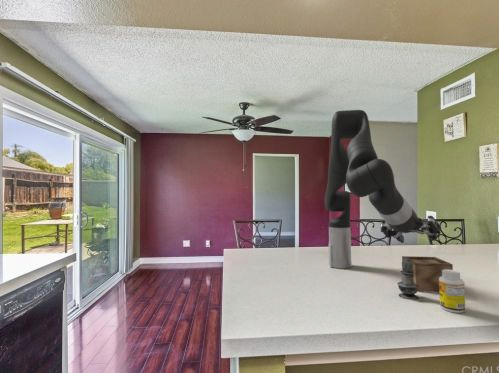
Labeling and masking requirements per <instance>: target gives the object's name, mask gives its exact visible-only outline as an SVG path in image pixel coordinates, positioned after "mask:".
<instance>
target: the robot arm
mask: <svg viewBox="0 0 499 373" xmlns="http://www.w3.org/2000/svg"><path fill="white" fill-rule="evenodd" d="M369 121H370V120H369V117H368V114H367V113H366V111H365V110H362V109H349V110H338V111H335V112H334V113H333V116H332V119H331V136H330V138H331V139H330V140H331V141H330V154H329V161H328V170H327V186H326V191H325V194H324V195H325V196H324V207H325V209H326V211H328V212H332V213H333V212H335V213H336V212H341V214H340V215H339V216H338V217H335V218H332V219H330V220H329V221H328V265H329V267H330V268H336V269H350V268H352V262H353V261H352V239H351V238H352V236H351V203H352V202H351V199H352V198H351V194H352V195H353V196H355V197H358V198H365V197H368V201H369V202H370V203H371V205H372V206H373V208H374V209H376V211H377V212H378V214H379V215H380V217H381V219H383V220H384V221H381V222H380V231H381V232H382V233H383V235H384V236H385V237H386V238H388V239H390V238H394V239H396V240H397V241H398V242H399V243H401V244H404V243H405V237H404V235H403V234H410V233H417V234H420V235H428V236H429V238H430V239H431V240H432V241H433V242H435V241H436V240H437V239H438V235H440V234H441V225H440V223H439V222H438V221H437V220H436V219H435V217H434V216H433V215H428V216H427V218H423V219H422V218H420V217H419V216H418V215H417V213H416V212H415V210H414V209H413V208H412V206H411V205H410V203H409V201H407V199H406V198H404V197H403V195H402V194H401V193H400V192H399V190H398V188H397V187H396V182H395V177H394V176H395V174H394V171H393V168H392V167H391V165H390V164H389V162H388V161H387V160H385V159H382V158H378V155H377V153H376V150H375V148H374V146H373V143H372V142H373V141H372V135H371V127H370V122H369ZM346 139H351V140H350V142H349V143H348V145H347V147H345V145H344V144H343V142H342V140H346ZM346 148H347V149H346ZM345 185H346V186H347V188H348V190H349V191H348V190H340V189H341V188H342V187H344V186H345ZM350 193H351V194H350Z"/></svg>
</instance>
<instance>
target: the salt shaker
mask: <svg viewBox="0 0 499 373" xmlns="http://www.w3.org/2000/svg"><path fill="white" fill-rule="evenodd" d="M400 273H401V281H399V282H397V283H396V286H398V289H399V291H400V293H399V294H398V297H399V298H401V297H402V298H401V299H406V300H410V301H412V300H413V301H414V300H415V301H416V300H419V296H418V295H417V294H416V293H417V292H419V291H418V288H419V285H417V284H415V283H414V279H413V274H414V272H413V263H412V262H411V261H410V260H408V257H406V260H403V261H402V260H401V270H400Z"/></svg>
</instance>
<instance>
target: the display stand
mask: <svg viewBox="0 0 499 373" xmlns="http://www.w3.org/2000/svg"><path fill="white" fill-rule="evenodd" d="M406 257H408V260H410V261H411V262H412V263H413V272H414V274H413V279H414V283H415V284H417V285H419V288H418V291H417V292H436V293H440V292H439V278H440V277H441V276H442V270H445V269H447V270H454V267H453V266H454V265H453V264H454V263H451V262H448V261H445V260H443V259H441V258H438V257H436V256H415V255H414V256H411V255H410V256H409V255H406V256H404V255H403V256H401V262H402V261H403V260H406Z"/></svg>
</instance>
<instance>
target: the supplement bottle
mask: <svg viewBox="0 0 499 373" xmlns="http://www.w3.org/2000/svg"><path fill="white" fill-rule="evenodd" d="M438 293H439V305H440V307H441V309H443V310H444V311H446V312H450V313H456V314H462V313H465V312H466V297H465V296H466V294H465V293H466V292H465V281H464V279H462V278H461V272H460V271H458V270H456V269H453V270H447V269H445V270H442V276H441V277H440V278H439V292H438Z"/></svg>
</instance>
